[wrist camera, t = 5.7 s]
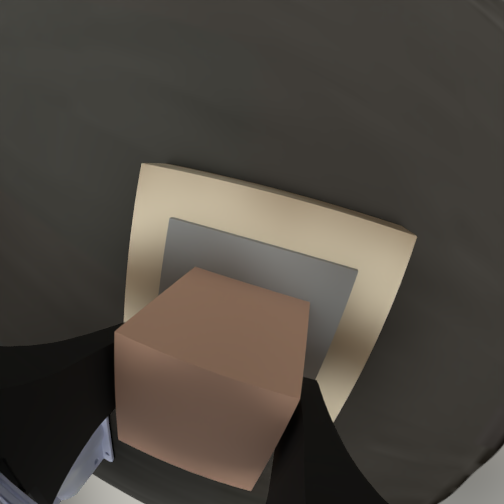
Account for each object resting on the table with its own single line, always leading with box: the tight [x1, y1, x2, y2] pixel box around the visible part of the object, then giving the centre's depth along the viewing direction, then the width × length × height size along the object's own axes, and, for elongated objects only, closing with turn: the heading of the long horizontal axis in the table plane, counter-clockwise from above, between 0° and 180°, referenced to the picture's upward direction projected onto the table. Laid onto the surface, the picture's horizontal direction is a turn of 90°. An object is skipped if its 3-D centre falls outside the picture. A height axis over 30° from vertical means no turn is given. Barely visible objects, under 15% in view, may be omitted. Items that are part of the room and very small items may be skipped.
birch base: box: [124, 163, 417, 422], centre depth 15 cm, size 12×12×3 cm
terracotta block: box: [114, 267, 310, 491], centre depth 11 cm, size 5×5×6 cm
